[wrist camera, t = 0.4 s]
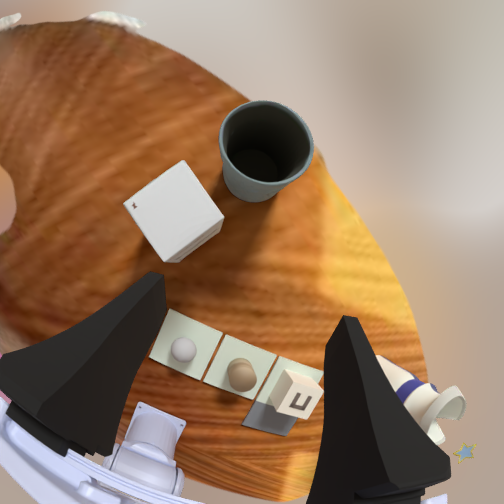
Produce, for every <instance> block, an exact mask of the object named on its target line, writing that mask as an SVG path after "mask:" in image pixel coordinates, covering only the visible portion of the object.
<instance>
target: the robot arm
mask: <svg viewBox="0 0 504 504" xmlns="http://www.w3.org/2000/svg"><path fill="white" fill-rule="evenodd" d="M166 310H167V307H166V296H165V284H164V275H162V274H158V273H154V272H151V271H150V272H149V273H147V274H146V275H145V276H143V277H142V278H141V279H139V280H138V281H137V282H136V283H134V284H133V285H132V286H131V287H129V288H128V289H127V290H125V291H124V292H123V293H121V294H120V295H119V296H117V297H116V298H115V299H113V300H112V301H111V302H109V303H108V304H107V305H105V306H104V307H102V308H101V309H99V310H98V311H97V312H95V313H94V314H92V315H91V316H89V317H88V318H86V319H85V320H83V321H81V322H80V323H78V324H76V325H75V326H73V327H71V328H69V329H67V330H65V331H63V332H61V333H59V334H57V335H55V336H53V337H51V338H49V339H47V340H45V341H42V342H40V343H37V344H35V345H32V346H29V347H26V348H23V349H20V350H17V351H13V352H10V353H6V354H3V356H2V357H1V359H0V390H1V391H2V392H3V393H4V394H5V395H6V396H7V397H8V398H10V399H11V400H12V401H11V403H10V405H9V404H8V403H7V402H6V401H5V400H3V399H2V398H1V397H0V464H1V466H3V468H4V469H5V470H6V471H7V472H8V473H9V475H11V477H12V478H13V479H14V480H15V481H16V482H17V483H18V484H19V485H20V486H21V487H22V488H23V489H24V490H25V491H26V492H27V493H28V494H29V495H30V496H31V497H32V498H33V499H34V500H36V501H37V502H38V503H39V504H148V503H145V502H143V501H140V500H137V499H135V498H132V497H130V496H127V495H125V494H122V493H120V492H118V491H116V490H114V489H113V488H115V489H117V490H119V491H121V492H124V493H126V494H128V495H131V496H133V497H136V498H138V499H141V500H144V501H146V502H149V503H152V504H205V503H201V502H197V501H192V500H189V499H185V498H182V497H180V495H181V493H182V489H183V485H184V474H183V472H182V470H181V469H180V468H175V467H176V461H174V460H173V458H174V452H175V445H176V443H177V441H178V439H179V437H180V435H181V433H182V431H183V429H184V427H185V425H186V421H184V420H182V419H180V418H177V417H175V416H172V415H170V414H167V413H165V412H163V411H160V410H158V409H156V408H154V407H151V406H149V405H147V404H145V403H143V402H138V404H137V407H136V409H135V412H134V415H133V417H132V420H131V423H130V425H129V428H128V431H127V433H126V436H125V441H123V443H122V445H121V447H120V444H118V443H115V439H116V434H117V430H118V426H119V423H120V419H121V415H122V412H123V409H124V406H125V402H126V399H127V396H128V394H129V391H130V388H131V385H132V383H133V380H134V378H135V375H136V373H137V371H138V369H139V367H140V365H141V363H142V361H143V359H144V358H145V356H146V354H147V352H148V350H149V348H150V346H151V344H152V342H153V340H154V339H155V337H156V335H157V333H158V331H159V329H160V326H161V323H162V321H163V318H164V316H165V313H166ZM139 406H140V407H141V408H139ZM181 424H182V425H183V426H181ZM114 443H115V444H114ZM95 452H96V453H98V454H100V455H102V456H104V457H105V458H104V461H103V464H102V466H100V465H98V464H96V463H94V462H92V461H90V460H88V459H87V458H85V457H84V456H85V453H88V454H90V455H92V456H93V455H94V453H95ZM450 477H451V466H450V457H449V456H448V455H447V454H446V453H445V452H444V451H442V450H441V449H440V448H439V447H438V446H437V445H436V444H435V443H434V442H433V441H432V440H431V439H430V437H429V436H428V435H427V434H426V433H425V432H424V431H423V430H422V428H421V427H420V426H419V425H418V423H417V422H416V421H415V420H414V418H413V417H412V416H411V414H410V413H409V412H408V410H407V409H406V407H405V406H404V405H403V403H402V401H401V400H400V398H399V397H398V395H397V394H396V392H395V391H394V389H393V387H392V386H391V384H390V382H389V380H388V378H387V377H386V375H385V373H384V371H383V369H382V367H381V365H380V363H379V361H378V359H377V357H376V355H375V354H374V351H373V349H372V347H371V345H370V343H369V341H368V339H367V337H366V335H365V333H364V331H363V329H362V327H361V324H360V322H359V320H358V318H356V317H350V316H345V315H343V317H342V318H341V320H340V322H339V324H338V325H337V327H336V329H335V331H334V332H333V334H332V336H331V338H330V339H329V341H328V343H327V344H326V348H325V358H324V425H323V432H322V440H321V446H320V451H319V457H318V462H317V466H316V471H315V475H314V479H313V482H312V486H311V489H310V493H309V496H308V499H307V502H306V504H447V494H443V495H440V496H437V497H433V498H430V499H426V500H423V501H421V496H423V495H424V494H425V488H426V487H429V486H432V485H435V484H438V483H440V482H443V481H446V480H448V479H449V478H450ZM97 480H98V481H97ZM112 487H113V488H112Z"/></svg>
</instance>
